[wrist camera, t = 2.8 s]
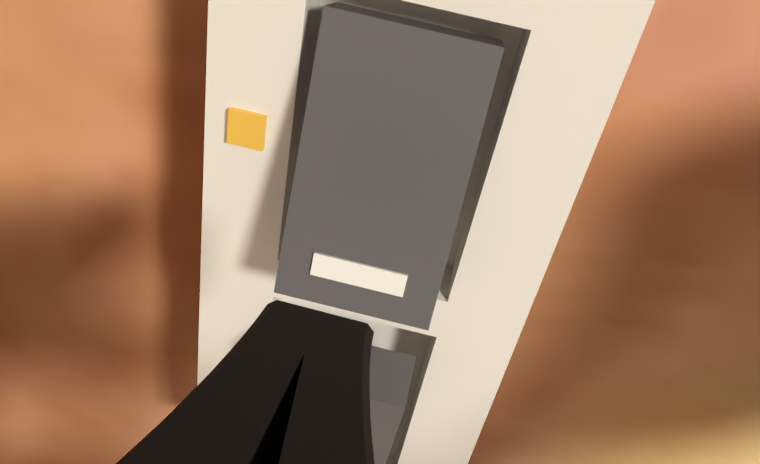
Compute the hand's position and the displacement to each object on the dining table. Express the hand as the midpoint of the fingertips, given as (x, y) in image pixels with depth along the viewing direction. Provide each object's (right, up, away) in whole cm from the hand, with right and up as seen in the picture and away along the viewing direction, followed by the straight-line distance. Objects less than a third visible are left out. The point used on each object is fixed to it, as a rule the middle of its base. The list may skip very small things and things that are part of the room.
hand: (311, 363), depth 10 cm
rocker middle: (+1, +3, +5) cm, 6 cm away
